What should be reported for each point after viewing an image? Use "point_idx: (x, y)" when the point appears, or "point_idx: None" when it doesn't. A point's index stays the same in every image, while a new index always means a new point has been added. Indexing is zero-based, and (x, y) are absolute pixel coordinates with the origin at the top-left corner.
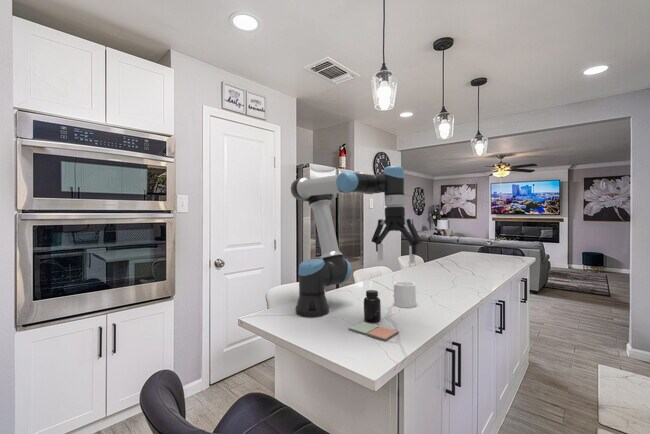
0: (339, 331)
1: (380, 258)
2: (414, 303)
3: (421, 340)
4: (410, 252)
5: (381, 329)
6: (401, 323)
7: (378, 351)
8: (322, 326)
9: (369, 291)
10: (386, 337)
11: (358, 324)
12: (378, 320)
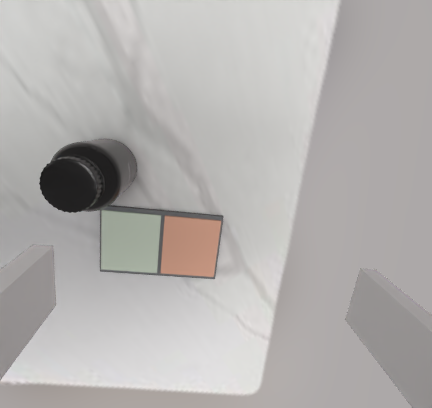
0: (87, 287)
1: (45, 300)
2: None
3: (284, 227)
4: (423, 406)
5: (179, 233)
6: (199, 140)
7: (222, 322)
8: None
9: (62, 197)
10: (213, 270)
11: (105, 236)
12: (135, 174)
